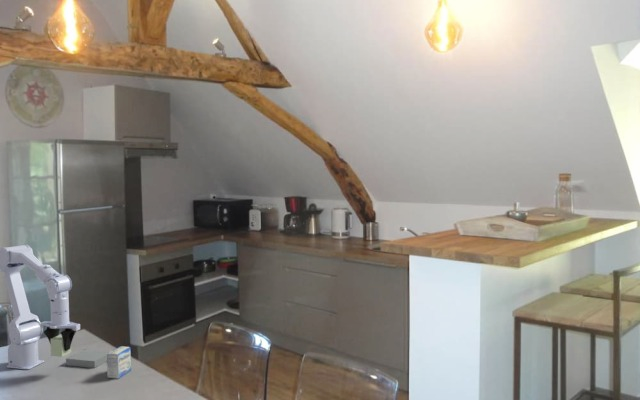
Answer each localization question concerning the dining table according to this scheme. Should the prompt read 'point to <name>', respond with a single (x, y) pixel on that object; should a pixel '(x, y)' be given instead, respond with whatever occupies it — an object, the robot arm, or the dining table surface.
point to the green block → (58, 347)
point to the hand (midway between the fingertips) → (61, 349)
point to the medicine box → (118, 362)
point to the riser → (87, 358)
